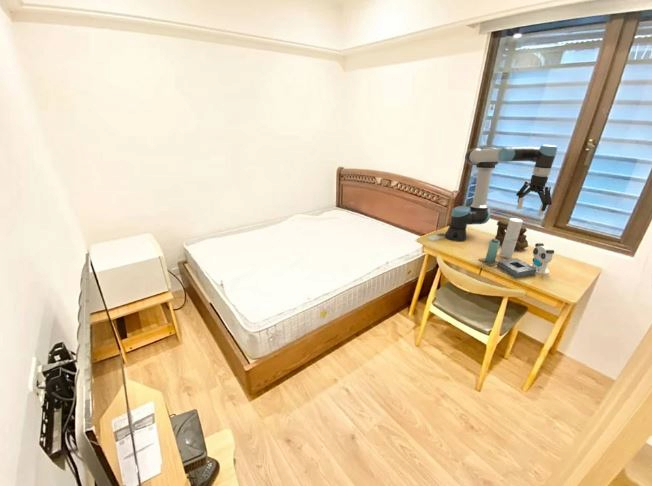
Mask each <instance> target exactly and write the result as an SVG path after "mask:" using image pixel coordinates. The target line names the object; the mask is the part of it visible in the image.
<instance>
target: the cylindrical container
mask: <svg viewBox="0 0 652 486" xmlns="http://www.w3.org/2000/svg"><path fill="white" fill-rule="evenodd" d="M508 220H509V223H508V227H507V230H505V232H506V234H505V237H504V241H503V244H502V245H501V247H500V248H501V249H500V252H499V255H500V256H501V257H503V258H508V259H512V258H513V255H514V252H515V250H514V249H515V245H516V242H517V239H518V235H519V232H520V229H521V227H523V226H522V225H523V219H520V218H516V217H511V218H509V219H508Z"/></svg>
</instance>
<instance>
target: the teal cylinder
mask: <svg viewBox="0 0 652 486" xmlns="http://www.w3.org/2000/svg"><path fill="white" fill-rule="evenodd" d="M499 244H500V242H499V240H497V239H495V238H492V239H490V241H489V244H488V248H487V251H486V256H485V258H486V259H485V261H486V262H487V263H494V262H495V260H496V258H497V254H498V251H499V247H500V245H499Z"/></svg>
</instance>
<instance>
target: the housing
mask: <svg viewBox="0 0 652 486" xmlns="http://www.w3.org/2000/svg"><path fill="white" fill-rule="evenodd" d="M497 262H498V265H496V267H497V268H499V269H500V270H502V271H503V272H505V273H506V274H509V275H510V276H511V277H513V278H515V279H519V278H524V277H530V276H535V275H536V274H537V273H536V270H537V269H536V268H534V267H533V266H531V265H529V263H526V262H525V261H524V260H521V259H519V258H517V257H516V258H508V259H503V260H498V261H497Z"/></svg>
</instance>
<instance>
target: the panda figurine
mask: <svg viewBox="0 0 652 486" xmlns="http://www.w3.org/2000/svg"><path fill="white" fill-rule="evenodd" d="M534 246H535V247H534V249H533V251H532V253H533V258H532V262H533V263H531V264H529V263H528V264H529V265H531V266H533V267H534V268H536V269H537V270H536V273H535V274H541V275H547V274H550V270H549V268H547V267H548V264H549V263H551V261H552V260H553V257H554V256H553V255H554V253H555V250H553V249H551V248H550V247H549V246H546V245H545V244H544V243H541V242H540V243H539V242H538V243H535V244H534Z"/></svg>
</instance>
